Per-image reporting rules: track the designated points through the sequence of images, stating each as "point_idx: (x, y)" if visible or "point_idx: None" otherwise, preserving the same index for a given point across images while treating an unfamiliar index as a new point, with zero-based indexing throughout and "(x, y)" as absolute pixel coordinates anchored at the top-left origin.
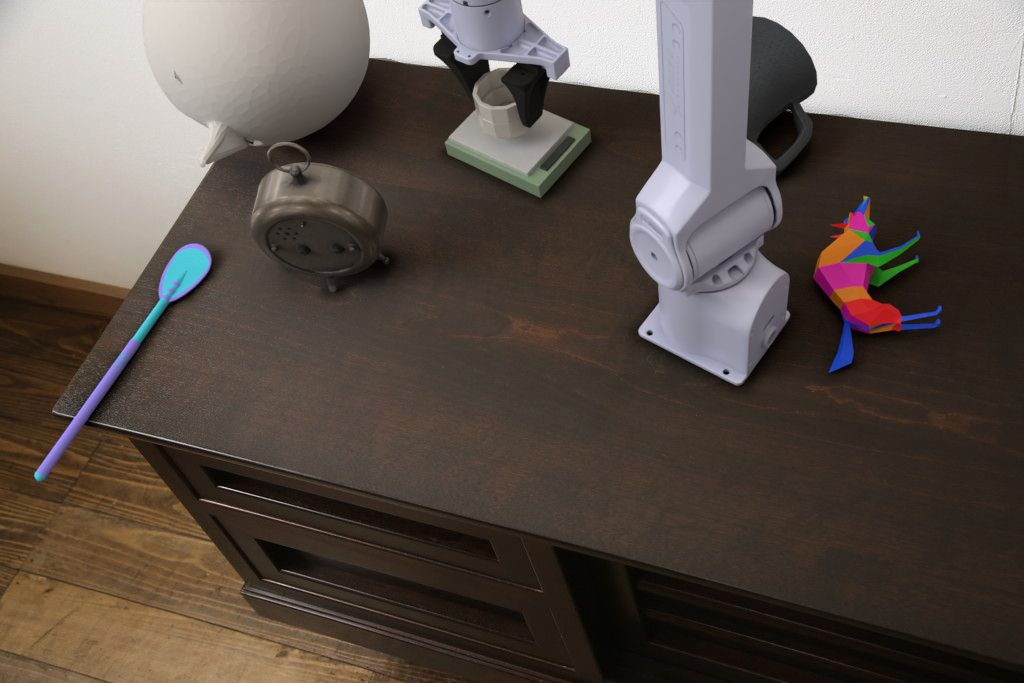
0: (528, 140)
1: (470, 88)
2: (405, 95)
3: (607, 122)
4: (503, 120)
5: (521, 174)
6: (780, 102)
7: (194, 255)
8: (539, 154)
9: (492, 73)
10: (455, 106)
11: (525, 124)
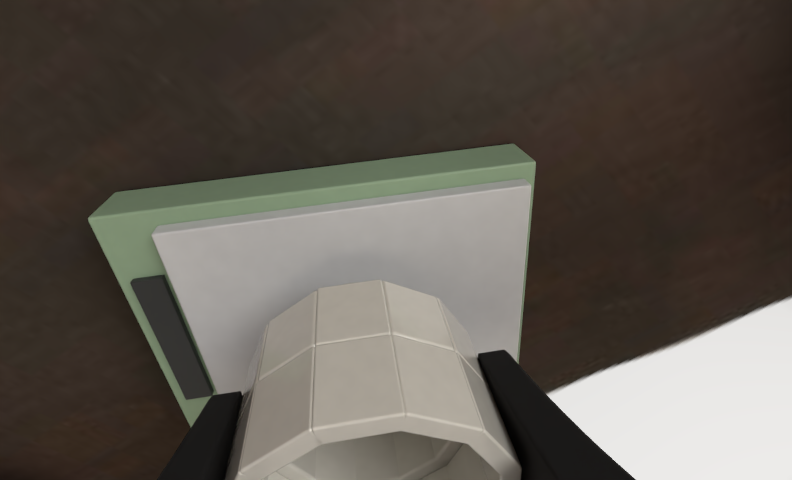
0: None
1: (526, 435)
2: (753, 228)
3: None
4: (270, 387)
5: (188, 220)
6: None
7: None
8: (198, 312)
9: None
10: (597, 279)
11: (213, 407)
